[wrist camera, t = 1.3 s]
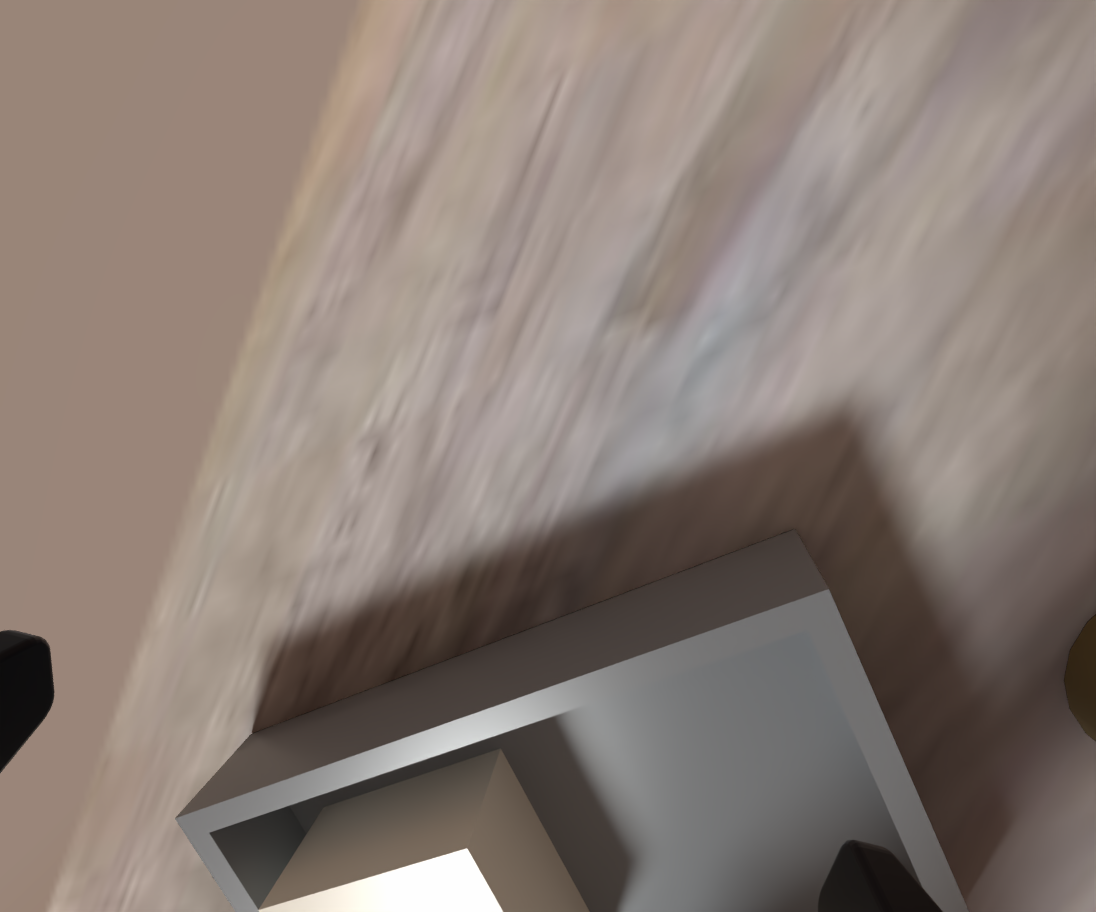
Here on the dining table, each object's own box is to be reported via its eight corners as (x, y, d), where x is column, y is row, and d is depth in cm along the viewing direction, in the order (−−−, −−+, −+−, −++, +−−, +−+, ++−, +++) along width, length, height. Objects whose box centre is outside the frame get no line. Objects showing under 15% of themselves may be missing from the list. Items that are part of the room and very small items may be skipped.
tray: (961, 910, 22) (1027, 1045, 18) (431, 1029, 26) (393, 1155, 23) (794, 529, 19) (829, 589, 16) (251, 734, 24) (174, 818, 20)
